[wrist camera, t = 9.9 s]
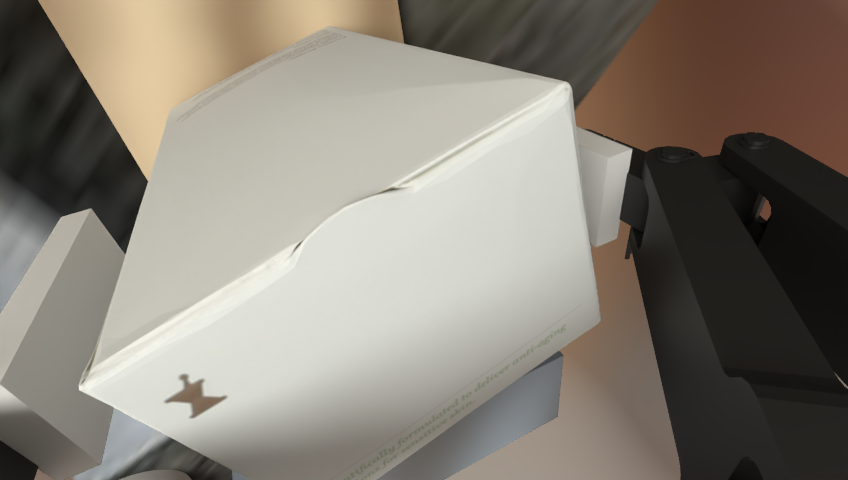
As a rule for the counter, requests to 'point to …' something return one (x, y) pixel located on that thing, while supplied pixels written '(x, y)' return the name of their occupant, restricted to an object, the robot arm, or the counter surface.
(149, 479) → the lumpy-topped squat cylinder
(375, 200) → the skincare box
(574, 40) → the counter surface
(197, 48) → the book rack
